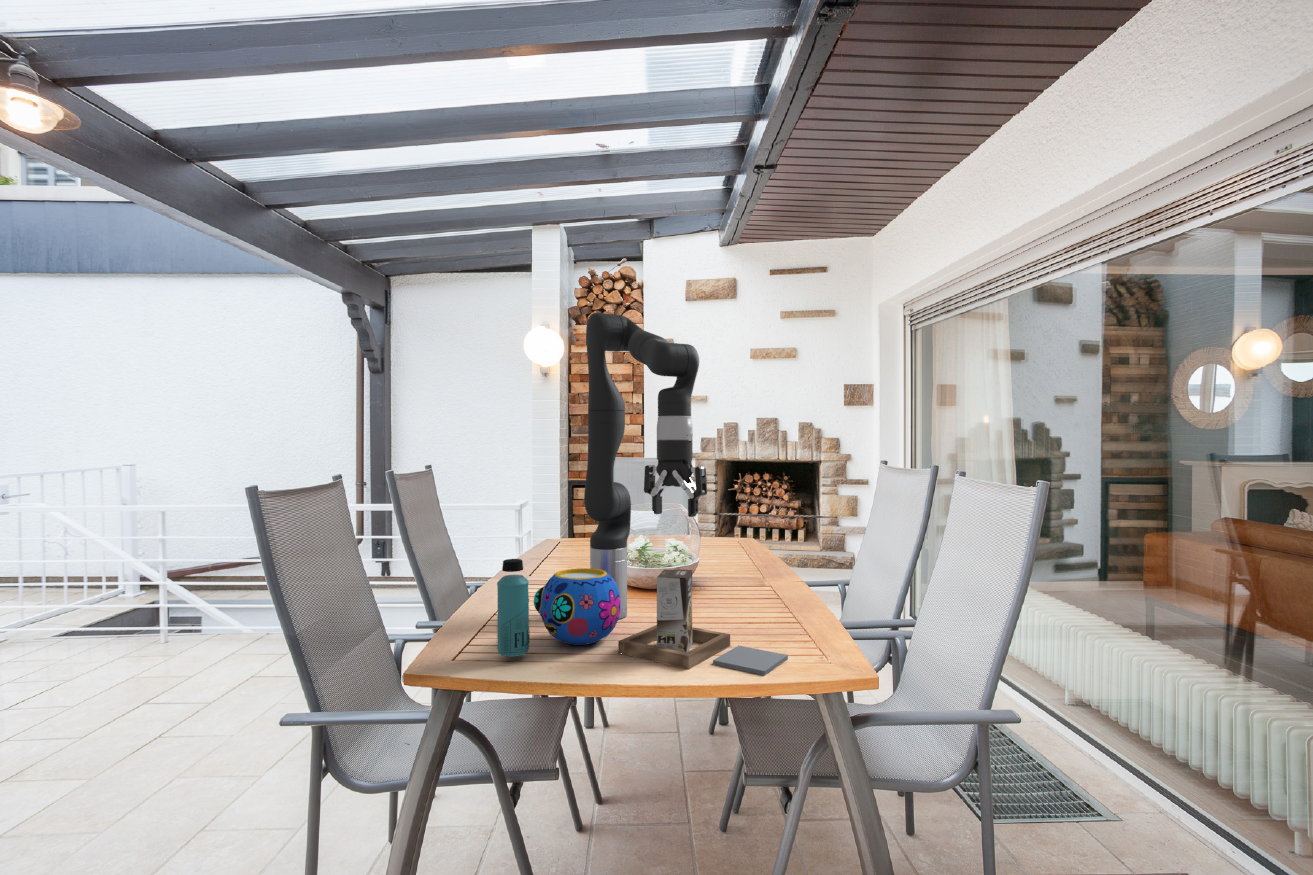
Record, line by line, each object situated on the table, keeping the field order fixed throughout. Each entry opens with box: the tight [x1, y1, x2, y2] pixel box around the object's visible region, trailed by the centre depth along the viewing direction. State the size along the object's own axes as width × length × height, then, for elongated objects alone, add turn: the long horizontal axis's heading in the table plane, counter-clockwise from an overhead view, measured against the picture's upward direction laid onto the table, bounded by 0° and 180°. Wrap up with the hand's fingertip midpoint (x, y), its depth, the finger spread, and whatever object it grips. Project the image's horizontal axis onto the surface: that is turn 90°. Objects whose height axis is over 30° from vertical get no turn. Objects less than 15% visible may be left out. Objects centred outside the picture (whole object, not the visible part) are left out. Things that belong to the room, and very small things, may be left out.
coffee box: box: [656, 568, 693, 652], centre depth 137 cm, size 9×6×16 cm
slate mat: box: [712, 645, 789, 676], centre depth 129 cm, size 11×11×1 cm
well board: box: [617, 624, 731, 670], centre depth 137 cm, size 17×17×2 cm
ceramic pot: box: [533, 567, 621, 646], centre depth 142 cm, size 18×18×15 cm
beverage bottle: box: [496, 558, 531, 657], centre depth 131 cm, size 6×7×20 cm
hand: (674, 515), depth 137 cm, fingers open, 8 cm apart
